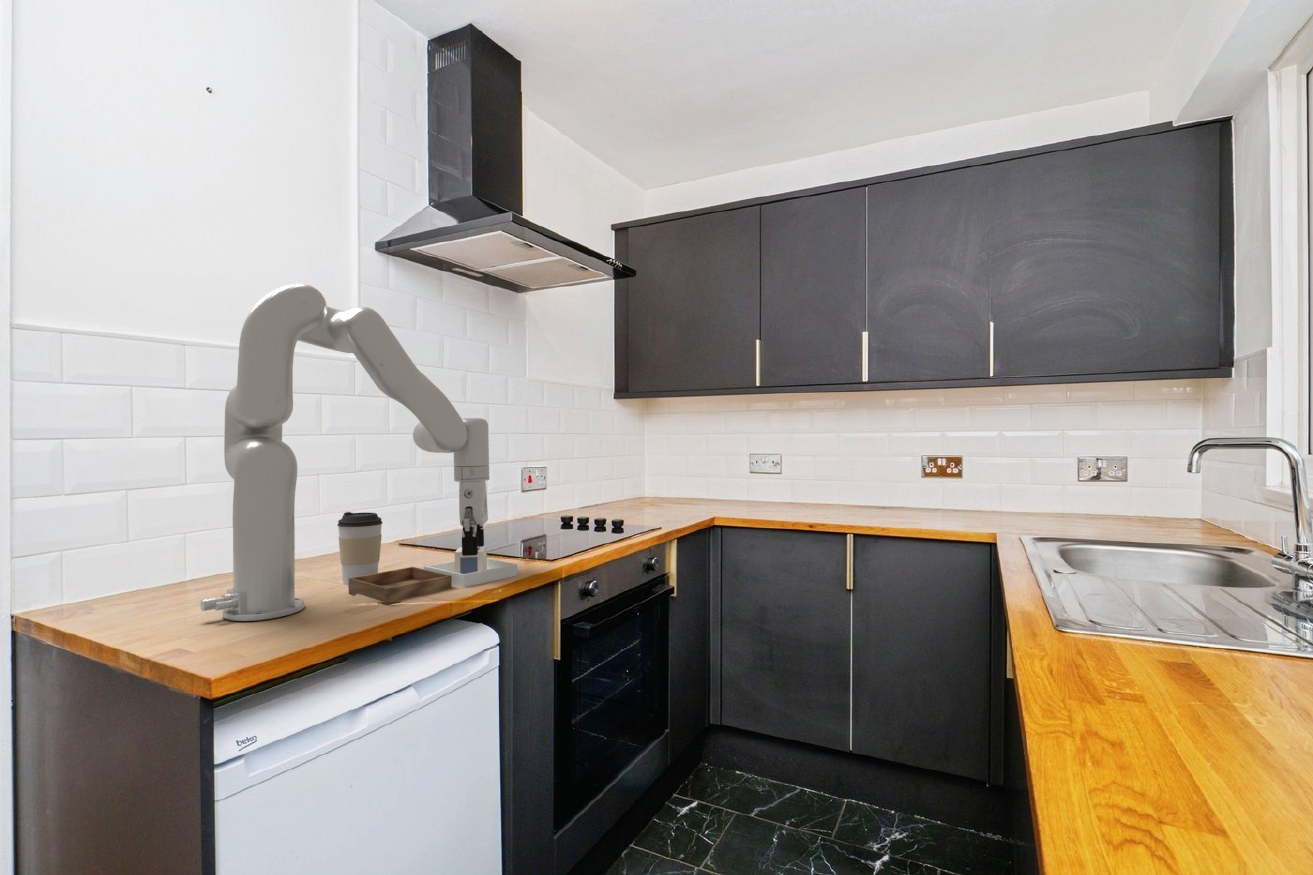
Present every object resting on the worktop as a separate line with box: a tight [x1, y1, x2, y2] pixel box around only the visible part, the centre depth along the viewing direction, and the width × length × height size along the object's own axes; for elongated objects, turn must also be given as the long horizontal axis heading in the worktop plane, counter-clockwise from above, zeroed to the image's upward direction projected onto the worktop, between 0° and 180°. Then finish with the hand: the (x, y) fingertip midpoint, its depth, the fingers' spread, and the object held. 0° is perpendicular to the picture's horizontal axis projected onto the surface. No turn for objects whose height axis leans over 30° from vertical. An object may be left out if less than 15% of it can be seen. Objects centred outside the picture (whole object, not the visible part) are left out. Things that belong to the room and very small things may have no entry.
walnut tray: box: [348, 566, 453, 606], centre depth 131 cm, size 14×14×3 cm
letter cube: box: [454, 546, 488, 574], centre depth 142 cm, size 6×6×6 cm
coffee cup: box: [336, 511, 383, 586], centre depth 140 cm, size 9×9×15 cm
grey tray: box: [423, 558, 518, 589], centre depth 143 cm, size 14×14×3 cm
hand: (473, 550), depth 143 cm, fingers open, 9 cm apart
